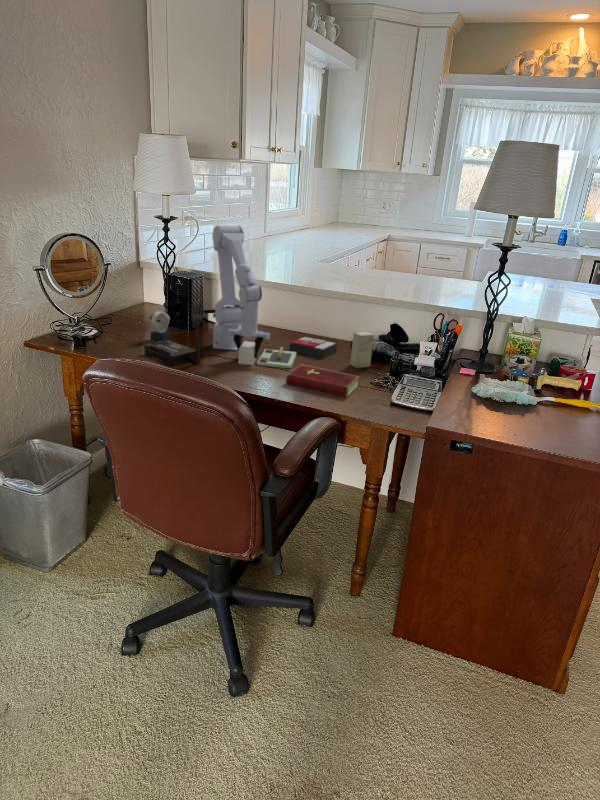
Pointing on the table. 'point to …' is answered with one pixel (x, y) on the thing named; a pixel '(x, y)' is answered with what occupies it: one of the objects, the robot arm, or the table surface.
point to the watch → (161, 334)
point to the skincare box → (362, 349)
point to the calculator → (313, 347)
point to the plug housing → (247, 353)
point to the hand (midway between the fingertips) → (248, 356)
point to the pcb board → (277, 358)
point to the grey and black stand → (174, 351)
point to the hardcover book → (322, 380)
